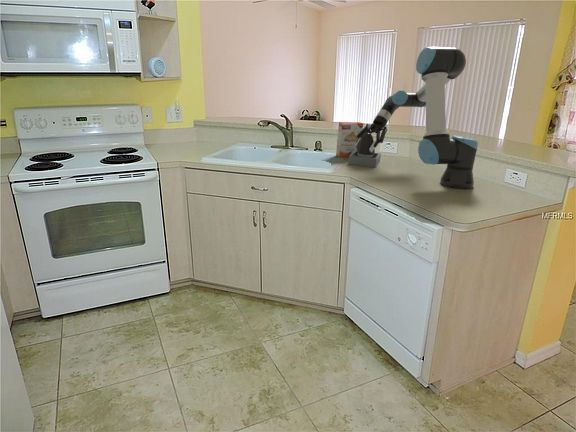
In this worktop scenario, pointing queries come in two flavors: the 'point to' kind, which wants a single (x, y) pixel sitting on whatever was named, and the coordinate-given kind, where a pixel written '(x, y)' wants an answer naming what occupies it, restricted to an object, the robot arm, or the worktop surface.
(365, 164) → the drying tray
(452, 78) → the robot arm
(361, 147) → the dark rounded piece
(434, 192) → the worktop surface
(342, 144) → the cracker box
